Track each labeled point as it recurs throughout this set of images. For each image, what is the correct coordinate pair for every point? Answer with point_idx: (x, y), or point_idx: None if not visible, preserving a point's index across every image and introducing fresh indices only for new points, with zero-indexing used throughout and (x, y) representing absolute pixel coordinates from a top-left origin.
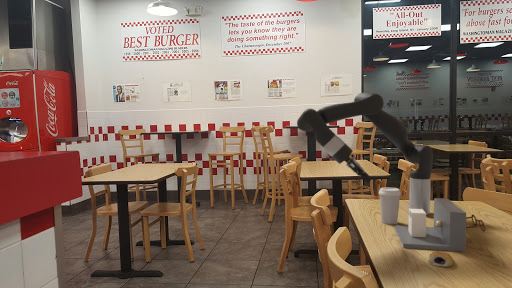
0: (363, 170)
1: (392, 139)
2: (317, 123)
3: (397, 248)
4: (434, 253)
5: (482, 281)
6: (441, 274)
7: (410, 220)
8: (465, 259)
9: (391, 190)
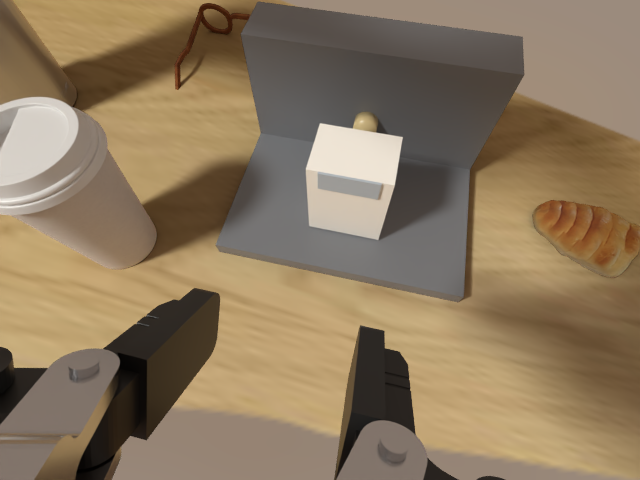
0: (397, 456)
1: None
2: None
3: (468, 326)
4: (617, 247)
5: None
6: None
7: (358, 204)
8: (534, 170)
9: (67, 143)
